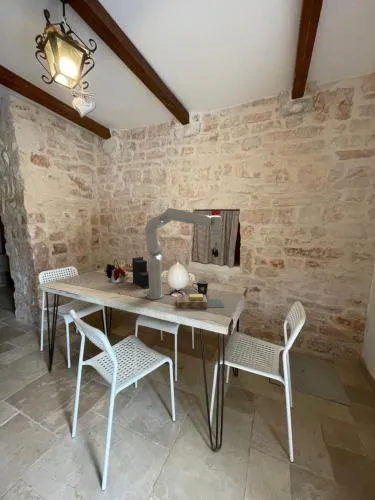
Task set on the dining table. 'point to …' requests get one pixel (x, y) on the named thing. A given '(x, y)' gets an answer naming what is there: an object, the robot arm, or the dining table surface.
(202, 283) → the coffee mug
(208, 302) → the mat
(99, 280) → the dining table surface
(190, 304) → the brown flat block
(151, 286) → the robot arm
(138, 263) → the bookend
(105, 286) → the dining table surface
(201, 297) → the yellow flat block
